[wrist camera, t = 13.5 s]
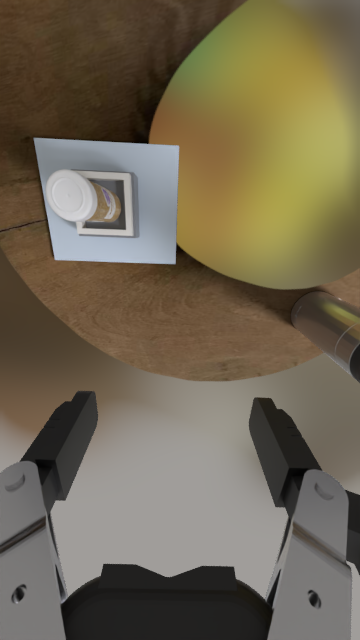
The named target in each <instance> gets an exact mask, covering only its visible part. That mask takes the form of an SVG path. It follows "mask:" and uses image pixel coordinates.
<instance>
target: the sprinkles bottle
mask: <svg viewBox="0 0 360 640" xmlns="http://www.w3.org/2000/svg"><path fill="white" fill-rule="evenodd" d="M46 198H47V201H48V203H49V205H50V207H51V209H52V210H53V211H54V212H55V213H56V214H57V215H58V216H60V217H61V218H63V219H65V220H68V221H74V222H83V221H92V222H113V221H115V220H116V219H117V218H118V217H119V215H120V213H121V203H120V200H119V198H118V197H117V195H116V194H115V193H113V192H112V191H110V190H107V189H106V188H104V187H102V186H100V185H98V184H96V183H93V182H91V181H89V180H88V179H87V178H85V177H84V176H83V175H81V174H79V173H77V172H75V171H72V170H68V169H61V170H58V171H56V172H54V173H53V174H52V175H51V176H50V177H49V178H48V180H47V183H46Z"/></svg>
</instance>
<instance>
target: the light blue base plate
mask: <svg viewBox="0 0 360 640" xmlns="http://www.w3.org/2000/svg"><path fill="white" fill-rule="evenodd" d="M34 143H35V149H36V154H37V160H38V166H39V171H40V177H41V183H42V189H43V194H44V200H45V206H46V211H47V217H48V223H49V229H50V234H51V240H52V246H53V252H54V257H55V260H74V261H102V262H130V263H157V264H176V228H177V198H178V197H177V196H178V165H179V164H178V163H179V146H174V145H156V144H138V143H120V142H102V141H83V140H65V139H47V138H34ZM61 169H68V170H72V171H75V172H77V173H79V174H81V175H83V176H84V177H85V178H87V179H88V180H89V181H91V182H93V183H96V184H98V185H100V186H102V187H104V188H106V189H107V190H110V191H112V192H113V193H115V194H116V195H117V197H118V198H119V200H120V203H121V213H120V215H119V217H118V218H117V219H116V220H115V221H113V222H92V221H83V222H74V221H68V220H65V219H63V218H61V217H60V216H58V215H57V214H56V213H55V212H54V211H53V210H52V209H51V207H50V205H49V203H48V201H47V198H46V183H47V180H48V178H49V177H50V176H51V175H52V174H53V173H54V172H56V171H58V170H61Z"/></svg>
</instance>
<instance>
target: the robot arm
mask: <svg viewBox="0 0 360 640" xmlns="http://www.w3.org/2000/svg"><path fill="white" fill-rule="evenodd" d="M291 321H292V324H293V325H294V327H295V328H296V329H298V330H299V331H300V332H301V333H302V334H303V335H304V336H305V337H307V338H308V339H309V340H310V341H311V342H312V343H314V344H315V345H316V346H317V347H318V348H320V349H321V350H322V351H323V352H324V353H326V354H327V355H328V356H329V357H330V358H331V359H333V360H334V361H335V362H336V363H337V364H338V365H339V366H341V367H342V368H343V369H344V370H345V371H347V372H348V373H349V374H350V375H351V376H352V377H354V378H355V379H356V380H357V381H358V382H360V308H359V307H357V306H355V305H352V304H350V303H348V302H346V301H343V300H341V299H339V298H337V297H335V296H333V295H330V294H328V293H326V292H322V291H315V292H311V293H308V294H306V295H304V296H302V297H301V298H300V299H299V300H298V301H297V302H296V303H295V305H294V307H293V309H292V311H291ZM97 421H98V411H97V403H96V395H95V392H93V391H78V392H77V393H76V394H75V396H74V397H73V399H72V401H71V402H68V401H67V402H64V403H63V404H62V405H60V406H59V407H58V408H57V409H55V411H54V413H53V414H52V415H51V417H50V418H49V421H47V423H46V424H45V426H44V428H43V429H42V430H41V431H40V433H39V435H38V436H37V437H36V439H35V440H34V442H33V443H32V444H31V446H30V448H29V449H28V450H27V452H26V453H25V455H24V456H23V458H22V459H21V460H20V462H18V463H15V464H13V465H11V466H9V467H7V468H6V469H4V470H3V471H2V472H1V473H0V640H350V637H351V601H352V572H351V568H350V566H349V565H347V563H346V561H349V562H351V563H354V564H355V566H356V568H357V570H358V572H359V575H360V495H358V494H355V493H352V492H349V491H347V490H345V489H344V488H343V487H342V485H341V484H340V483H339V482H338V481H337V480H336V479H335V478H333V477H332V476H331V475H329V474H327V473H326V472H323V471H322V469H321V468H320V466H319V464H318V462H317V461H316V459H315V457H314V456H313V454H312V452H311V450H310V449H309V447H308V445H307V444H306V442H305V440H304V439H303V438H302V435H301V433H300V432H299V430H298V429H297V427H296V425H295V423H294V422H293V420H292V418H291V417H290V416H289V415H288V414H287V413H286V412H285V411H283V410H282V409H277V408H276V406H275V404H274V402H273V401H272V399H271V398H254V400H253V406H252V410H251V415H250V419H249V430H250V434H251V437H252V440H253V442H254V445H255V449H256V451H257V454H258V457H259V460H260V463H261V466H262V469H263V472H264V475H265V478H266V481H267V484H268V486H269V489H270V492H271V495H272V498H273V501H274V504H275V507H285V508H286V511H287V513H288V518H287V521H286V525H285V529H284V533H283V537H282V541H281V544H280V548H279V552H278V556H277V560H276V563H275V567H274V571H273V574H272V577H271V580H270V583H269V587H268V590H267V594H266V597H265V599H263V597H262V596H260V594H259V593H257V592H256V591H255V590H254V589H252V588H251V587H250V586H248V585H247V584H245V583H243V582H242V581H240V580H237V579H236V577H235V571H234V567H227V566H226V567H224V566H223V567H222V566H201V567H198V568H195V569H192V570H190V571H187V572H184V573H181V574H179V575H176V576H173V577H164V576H162V575H160V574H157V573H155V572H153V571H150V570H148V569H145V568H143V567H140V566H138V565H133V564H103V569H102V573H101V576H99V577H97V578H95V579H93V580H91V581H89V582H87V583H85V584H84V585H82V586H81V587H80V588H78V589H77V590H76V591H75V592H73V593H72V594H71V595H70V596H69V597H68V594H67V589H66V584H65V580H64V576H63V572H62V568H61V563H60V558H59V553H58V548H57V543H56V538H55V533H54V527H53V522H52V517H51V513H50V511H51V509H52V507H53V505H54V503H55V501H56V500H66V498H67V495H68V493H69V490H70V488H71V486H72V483H73V481H74V479H75V476H76V474H77V471H78V469H79V467H80V464H81V462H82V459H83V457H84V454H85V452H86V450H87V447H88V445H89V443H90V440H91V437H92V436H93V433H94V431H95V429H96V425H97Z"/></svg>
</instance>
